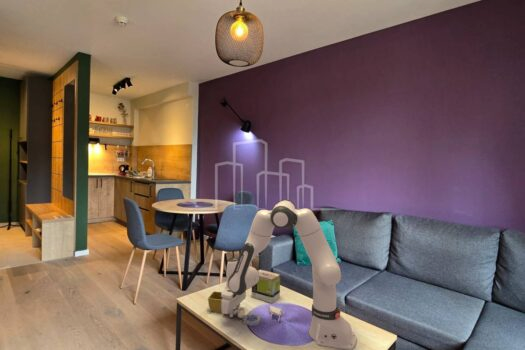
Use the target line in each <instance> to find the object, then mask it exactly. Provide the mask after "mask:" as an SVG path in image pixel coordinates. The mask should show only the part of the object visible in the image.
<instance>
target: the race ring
mask: <svg viewBox="0 0 525 350" xmlns="http://www.w3.org/2000/svg"><path fill="white" fill-rule="evenodd" d="M252 318H253V319H256V320H253V321H251V320H249V319H252ZM242 321H243V323H244V325H246V326H250V327H251V326H252V327H253V326H257V325H259V324H260V323H261V321H262V320H261V317H260V315H259V314H255V313H248V314H245V316H244V317H243V319H242Z"/></svg>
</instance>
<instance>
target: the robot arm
mask: <svg viewBox="0 0 525 350" xmlns="http://www.w3.org/2000/svg"><path fill="white" fill-rule="evenodd" d="M275 228H277V229H280V230H281V229H293V228H295V230H296V231H297V234H298V237H299V238H300V241H301V243H302V244H303V247H304V249H305V252H306V254H307V256H308V259H309V260H310V263H311V269H312V270H311V272H312V273H311V274H312V288H313V289H312V294H313V295H312V304H311V323H310V327H309V329H308V335H309V337H310V338H311V339H312V340H314V342H315V344H317V345H318V346H322V347H328V348H335V349H340V350H353V349H355V347H356V345H357V342H358V341H357V340H358V339H357V334H356V333H355V332H354V331H353V330H352V326H351V324H350V322H349V321H347V320H346V319H345V318H344V317H343V316H342V315H341V307H339V308H338V307H337V287H336V286H337V284H339V283H340V281H341V280H342V272H341V271H342V270H341V267H340V265H339V263H338V261H337V258H336V257H335V255H334V253H333V250H332V249H331V247H330V244H329V242H328V241H327V238H326V236H325V233H324V231H323V229H322V227H321V224H320V222H319V220H318V219H317V217H316V216H315V213H314V212H313V211H312V209H310V208H300V209H297V207H296V204H295V203H294V202H293V201H292V200H290V199H282V200H279V201H277V203H276V204H275V205H273V207H271V210H268V209H260V210H258V211H257V212H256V214H255V215H254V218H253V219H252V222H251V226H250V229H249V233H248V235H247V237H246V240H245V243H244V245H243V247H242V249H241V251H240V254H239V256H238V257H235V258H231V259H229V260H228V261H227V262H226V263H227V264H226V273H225V275H226V282H225V283H226V284H225V287H224V289H223V290H222V291H221V292H222V293H221V297H223V298H222V301H221V310H222V312H221V314H229V313H230V317H233V316H234V313H233V309H234V308H236V309H237V310H238V311H240V306H241V303H242V302H243V301H244V300H245V299H246V298H247V291H248V290H249V289H252V286H254V285H255V284H257V283H258V281H259V273H258V270H257V269H256V268H255V267H254V266H251V264H252V261H253V259H255V258H256V257H257V256H258V255H259V253H261V252H262V251H264V250H265V249H266V248H267V247H268V245H269V244H270V242H271V239H272V237H273V232H274V230H275Z"/></svg>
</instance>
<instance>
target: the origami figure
mask: <svg viewBox="0 0 525 350" xmlns="http://www.w3.org/2000/svg"><path fill="white" fill-rule="evenodd" d="M268 312H269V313H271V314H270V317H271V319H273V316H272V315H273V314H275V315H277V316H278V320H277V321H278V322H280V320H281V316H283V315H284V314H285V312H284V311H283V310H282V308H279V307H275V306H273V305H270V306H269V307H268Z"/></svg>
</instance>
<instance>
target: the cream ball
mask: <svg viewBox="0 0 525 350" xmlns="http://www.w3.org/2000/svg"><path fill="white" fill-rule="evenodd" d="M237 315H238V317H239V318H243V317H244V316H245V315H246V311H245V310H243V309H241V310H240V309H239V311H238V313H237Z"/></svg>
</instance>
